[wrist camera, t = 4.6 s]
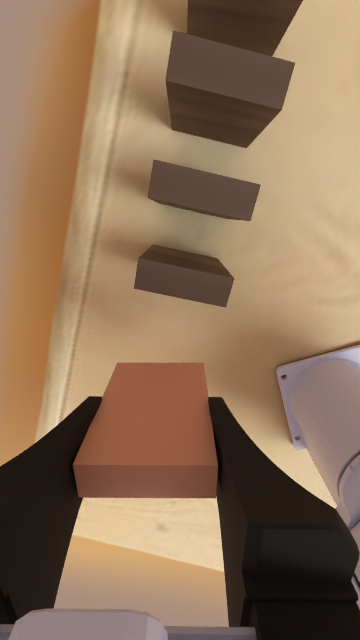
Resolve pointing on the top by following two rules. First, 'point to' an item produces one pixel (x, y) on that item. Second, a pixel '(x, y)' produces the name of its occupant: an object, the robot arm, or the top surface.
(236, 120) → the domino
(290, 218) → the top surface
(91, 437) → the terracotta domino
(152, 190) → the domino
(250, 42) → the domino
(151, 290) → the domino
